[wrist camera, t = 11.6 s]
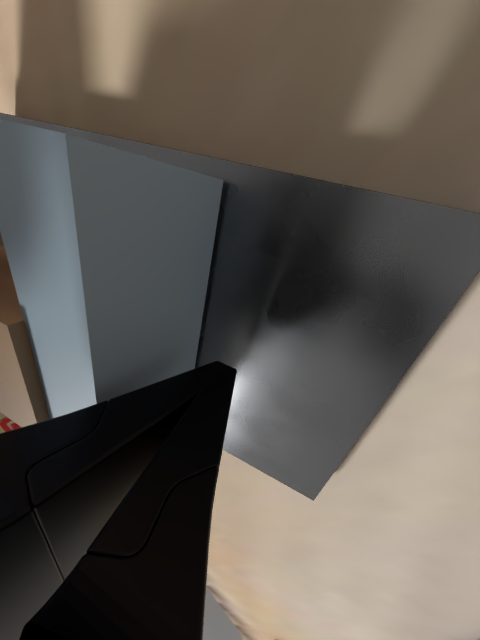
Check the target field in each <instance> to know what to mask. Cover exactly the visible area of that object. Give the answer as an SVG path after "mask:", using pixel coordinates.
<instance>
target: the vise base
mask: <svg viewBox="0 0 480 640" xmlns="http://www.w3.org/2000/svg"><path fill="white" fill-rule="evenodd" d="M0 119H2V120H7V121H11V122H16V123H20V124H25V125H29V126H34V127H38V128H43V129H47V130H52V131H56V132H61V133H65V134H69V135H72V136H76V137H79V138H82V139H86V140H89V141H93V142H96V143H99V144H103V145H106V146H110V147H113V148H116V149H120V150H123V151H127V152H130V153H133V154H137V155H140V156H144V157H147V158H150V159H154V160H157V161H161V162H164V163H167V164H171V165H174V166H177V167H181V168H184V169H188V170H191V171H194V172H198V173H201V174H205V175H208V176H211V177H215V178H218V179H222V180H224V181H223V187H222V194H221V200H220V207H219V213H218V220H217V226H216V233H215V239H214V246H213V252H212V259H211V265H210V272H209V278H208V285H207V291H206V298H205V304H204V311H203V317H202V324H201V330H200V337H199V343H198V350H197V356H196V363H195V368H198V367H200V366H203V365H206V364H209V363H212V362H214V361H220V362H222V363H224V364H226V365H229V366H231V367H233V368H235V369H236V370H237V374H236V379H235V384H234V390H233V395H232V401H231V406H230V412H229V417H228V422H227V428H226V433H225V439H224V444H223V450H225V451H226V452H228V453H230V454H232V455H234V456H235V457H237V458H239V459H241V460H242V461H244V462H246V463H248V464H249V465H251V466H253V467H255V468H257V469H258V470H260V471H262V472H264V473H265V474H267V475H269V476H271V477H273V478H274V479H276V480H278V481H280V482H281V483H283V484H285V485H287V486H288V487H290V488H292V489H294V490H296V491H297V492H299V493H301V494H303V495H304V496H306V497H308V498H310V499H312V500H313V501H314V499H315V498H316V497H317V495H318V494H319V492H320V491H321V490H322V488H323V487H324V485H325V484H326V483H327V481H328V480H329V478H330V477H331V476H332V474H333V473H334V472H335V470H336V469H337V467H338V466H339V465H340V463H341V462H342V460H343V459H344V458H345V456H346V455H347V454H348V452H349V451H350V449H351V448H352V447H353V445H354V444H355V442H356V441H357V440H358V438H359V437H360V435H361V434H362V433H363V431H364V430H365V429H366V427H367V426H368V424H369V423H370V422H371V420H372V419H373V417H374V416H375V415H376V413H377V412H378V410H379V409H380V408H381V406H382V405H383V404H384V402H385V401H386V399H387V398H388V397H389V395H390V394H391V392H392V391H393V390H394V388H395V387H396V386H397V384H398V383H399V381H400V380H401V379H402V377H403V376H404V374H405V373H406V372H407V370H408V369H409V367H410V366H411V365H412V363H413V362H414V361H415V359H416V358H417V356H418V355H419V354H420V352H421V351H422V349H423V348H424V347H425V345H426V344H427V342H428V341H429V340H430V338H431V337H432V336H433V334H434V333H435V331H436V330H437V329H438V327H439V326H440V324H441V323H442V322H443V320H444V319H445V318H446V316H447V315H448V313H449V312H450V311H451V309H452V308H453V306H454V305H455V304H456V302H457V301H458V299H459V298H460V297H461V295H462V294H463V293H464V291H465V290H466V288H467V287H468V286H469V284H470V283H471V281H472V280H473V279H474V277H475V276H476V274H477V273H478V272H479V270H480V214H479V213H475V212H470V211H465V210H460V209H456V208H451V207H446V206H441V205H437V204H432V203H427V202H422V201H418V200H413V199H408V198H403V197H399V196H394V195H389V194H384V193H380V192H375V191H370V190H365V189H361V188H356V187H351V186H346V185H341V184H337V183H332V182H327V181H322V180H318V179H313V178H308V177H303V176H299V175H294V174H289V173H284V172H280V171H275V170H270V169H265V168H261V167H256V166H251V165H246V164H242V163H237V162H232V161H227V160H223V159H218V158H213V157H208V156H203V155H199V154H194V153H189V152H184V151H180V150H175V149H170V148H165V147H161V146H156V145H151V144H146V143H142V142H137V141H132V140H127V139H123V138H118V137H113V136H108V135H104V134H99V133H94V132H89V131H85V130H80V129H75V128H70V127H65V126H61V125H56V124H51V123H46V122H42V121H37V120H32V119H27V118H23V117H18V116H13V115H8V114H4V113H0ZM0 246H4V243H3V240H2V236H1V232H0Z"/></svg>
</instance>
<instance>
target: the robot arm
mask: <svg viewBox="0 0 480 640" xmlns="http://www.w3.org/2000/svg"><path fill="white" fill-rule="evenodd" d="M236 374H237V370H236V369H235V368H233V367H231V366H229V365H226V364H224V363H222V362H220V361H214V362H212V363H209V364H206V365H203V366H200V367H198V368H195V369H192V370H189V371H187V372H184V373H181V374H178V375H175V376H173V377H170V378H167V379H164V380H162V381H159V382H156V383H153V384H151V385H148V386H145V387H142V388H139V389H137V390H134V391H131V392H128V393H126V394H123V395H120V396H117V397H115V398H112V399H110V400H109V402H108V401H107V400H106V401H103V402H100V403H98V404H95V405H92V406H89V407H86V408H83V409H80V410H77V411H74V412H71V413H69V414H66V415H62V416H59V417H56V418H52V419H49V420H45V421H42V422H39V423H35V424H32V425H28V426H25V427H21V428H18V429H14V430H10V431H7V432H3V433H0V640H203V626H204V611H205V595H206V581H207V566H208V551H209V539H210V528H211V517H212V509H213V502H214V496H215V489H216V483H217V478H218V472H219V465H220V460H221V455H222V449H223V444H224V439H225V433H226V428H227V422H228V417H229V412H230V406H231V401H232V395H233V390H234V384H235V379H236Z"/></svg>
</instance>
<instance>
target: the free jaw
mask: <svg viewBox="0 0 480 640" xmlns="http://www.w3.org/2000/svg"><path fill="white" fill-rule="evenodd" d="M223 181H224V180H222V179H218V178H215V177H211V176H208V175H205V174H201V173H198V172H194V171H191V170H188V169H184V168H181V167H177V166H174V165H171V164H167V163H164V162H161V161H157V160H154V159H150V158H147V157H144V156H140V155H137V154H133V153H130V152H127V151H123V150H120V149H116V148H113V147H110V146H106V145H103V144H99V143H96V142H93V141H89V140H86V139H82V138H79V137H76V136H72V135H69V134H65V133H61V132H56V131H52V130H47V129H43V128H38V127H34V126H29V125H25V124H20V123H16V122H11V121H7V120H2V119H0V232H1V236H2V240H3V243H4V247H5V251H6V255H7V259H8V262H9V266H10V270H11V274H12V277H13V281H14V285H15V289H16V293H17V296H18V300H19V304H20V308H21V311H22V315H23V319H24V322H25V326H26V330H27V334H28V337H29V341H30V345H31V349H32V353H33V356H34V360H35V364H36V368H37V371H38V375H39V379H40V383H41V387H42V390H43V394H44V398H45V402H46V406H47V409H48V413H49V417H50V419H52V418H56V417H59V416H62V415H66V414H69V413H71V412H74V411H77V410H80V409H83V408H86V407H89V406H92V405H95V404H98V403H100V402H103V401H106V400H107V401H108V402H109V400H110V399H112V398H115V397H117V396H120V395H123V394H126V393H128V392H131V391H134V390H137V389H139V388H142V387H145V386H148V385H151V384H153V383H156V382H159V381H162V380H164V379H167V378H170V377H173V376H175V375H178V374H181V373H184V372H187V371H189V370H192V369H195V363H196V356H197V350H198V343H199V337H200V330H201V324H202V317H203V311H204V304H205V298H206V291H207V285H208V278H209V272H210V265H211V259H212V252H213V246H214V239H215V233H216V226H217V220H218V213H219V207H220V200H221V194H222V187H223Z"/></svg>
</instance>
